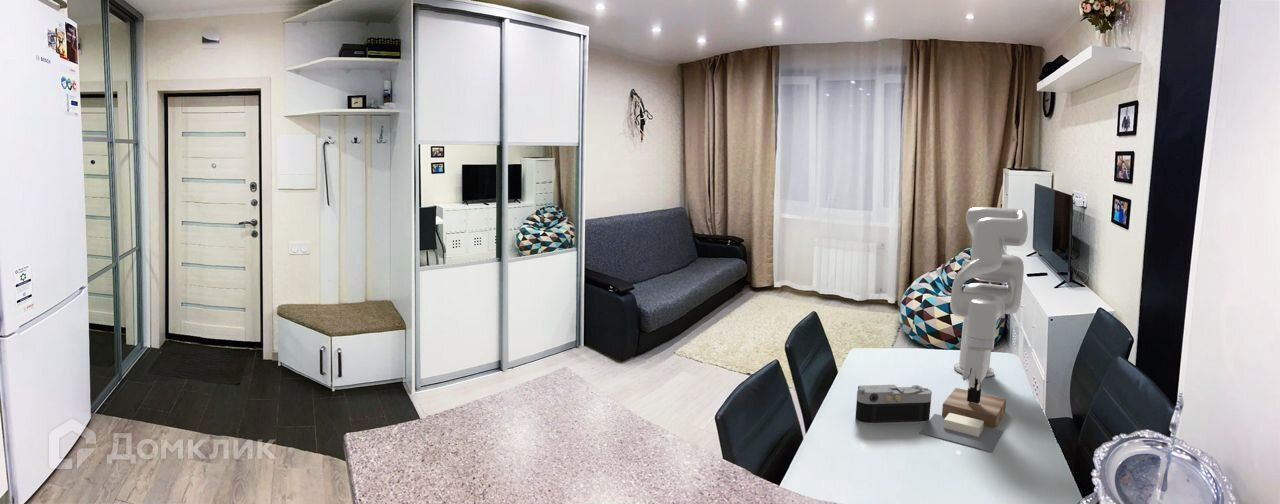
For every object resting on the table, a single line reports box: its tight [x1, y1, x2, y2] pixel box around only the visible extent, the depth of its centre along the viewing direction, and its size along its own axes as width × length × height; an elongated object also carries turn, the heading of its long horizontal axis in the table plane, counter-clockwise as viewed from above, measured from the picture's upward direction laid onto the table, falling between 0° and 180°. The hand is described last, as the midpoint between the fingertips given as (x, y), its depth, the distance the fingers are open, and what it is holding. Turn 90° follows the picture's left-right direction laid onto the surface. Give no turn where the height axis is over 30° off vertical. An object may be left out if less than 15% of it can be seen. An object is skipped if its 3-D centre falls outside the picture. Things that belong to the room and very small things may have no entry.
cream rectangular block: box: [943, 413, 984, 437], centre depth 183 cm, size 6×9×2 cm, turn 52°
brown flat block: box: [941, 387, 1007, 429], centre depth 194 cm, size 16×14×4 cm
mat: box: [918, 413, 1004, 453], centre depth 182 cm, size 16×18×1 cm
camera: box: [854, 384, 933, 426], centre depth 190 cm, size 22×10×10 cm, turn 95°
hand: (973, 401), depth 192 cm, fingers closed
